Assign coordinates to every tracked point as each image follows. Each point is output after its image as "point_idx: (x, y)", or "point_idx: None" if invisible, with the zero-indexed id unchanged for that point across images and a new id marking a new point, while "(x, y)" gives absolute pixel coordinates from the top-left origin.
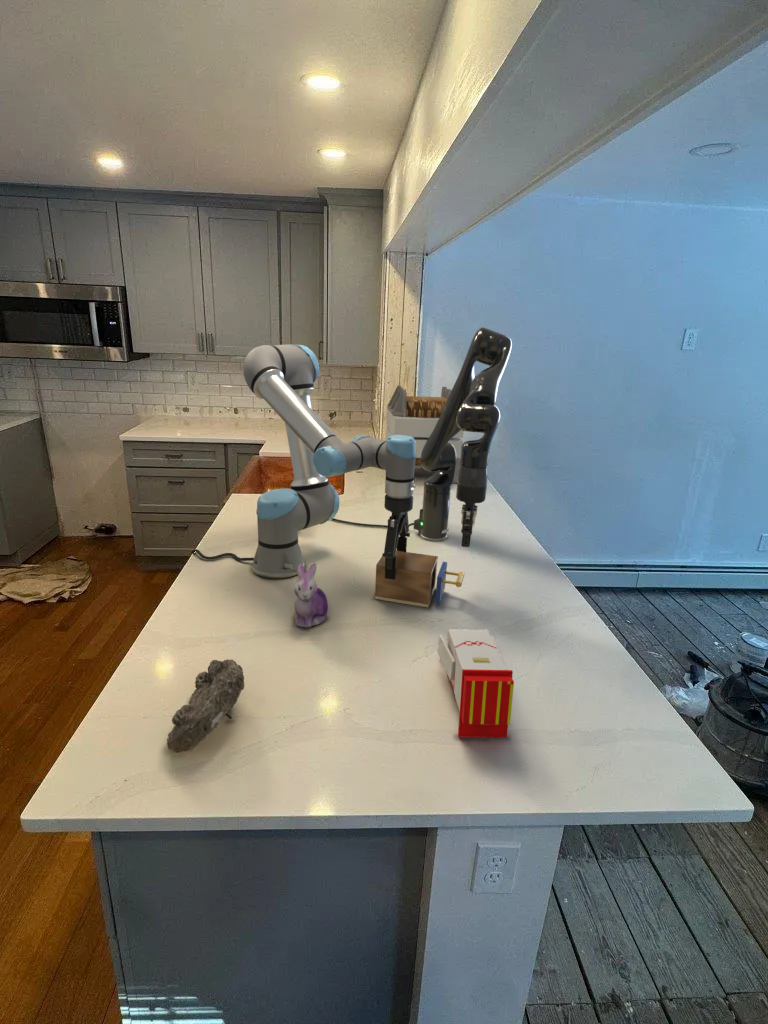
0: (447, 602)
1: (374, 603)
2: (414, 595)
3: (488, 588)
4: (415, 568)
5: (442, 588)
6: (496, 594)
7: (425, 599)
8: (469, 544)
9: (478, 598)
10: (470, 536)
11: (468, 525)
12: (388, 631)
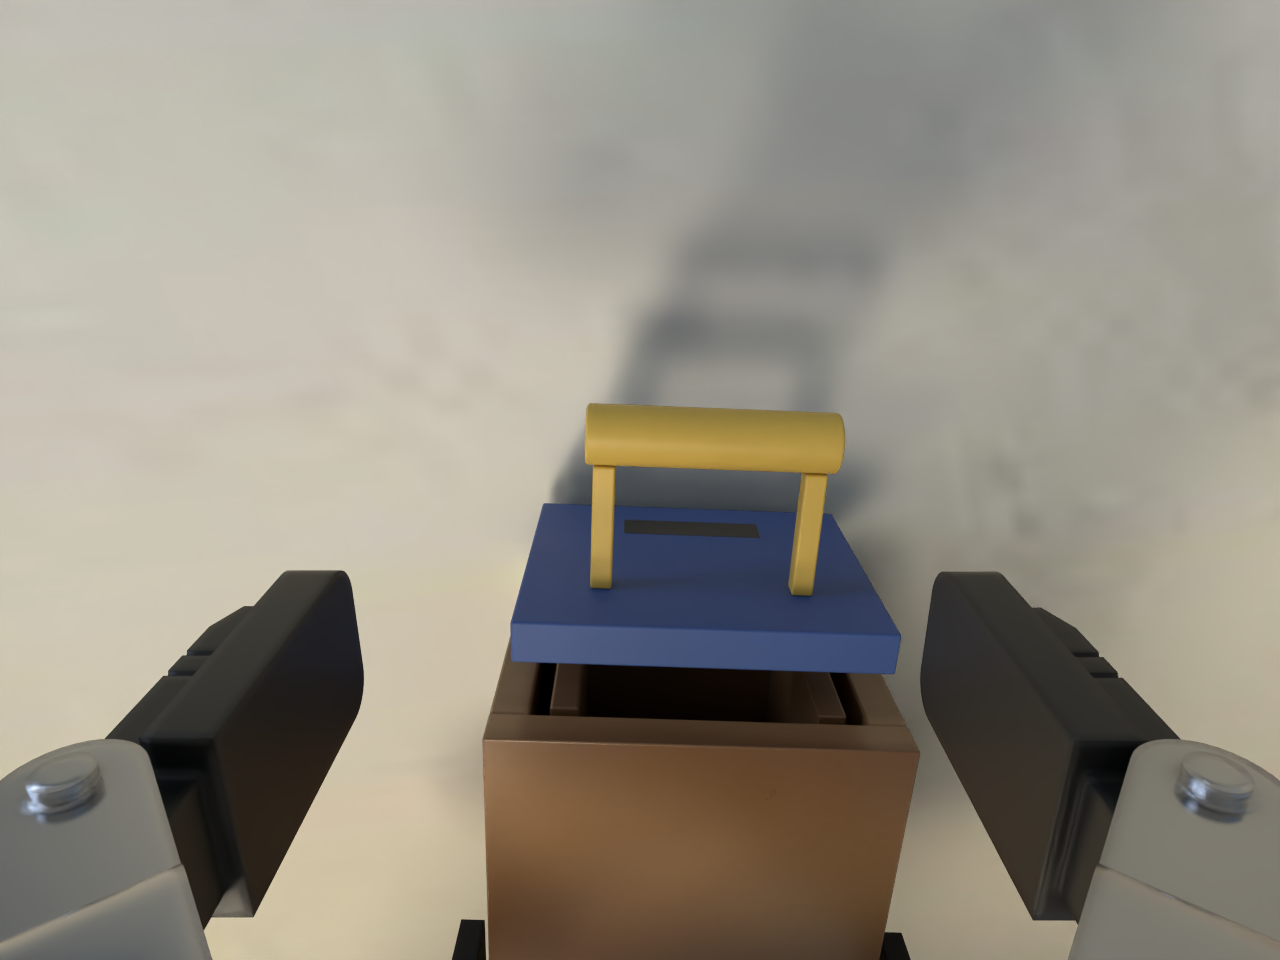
0: None
1: None
2: None
3: (353, 121)
4: (842, 882)
5: (721, 542)
6: (448, 35)
7: None
8: (1010, 597)
9: (582, 208)
10: (1112, 703)
11: (268, 772)
12: None
